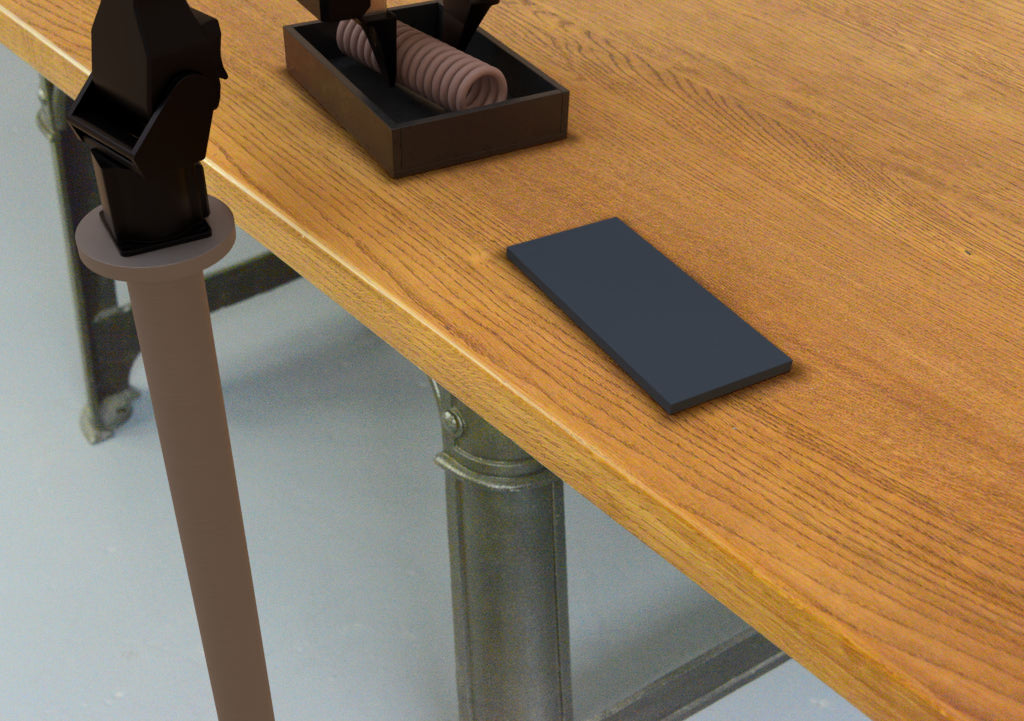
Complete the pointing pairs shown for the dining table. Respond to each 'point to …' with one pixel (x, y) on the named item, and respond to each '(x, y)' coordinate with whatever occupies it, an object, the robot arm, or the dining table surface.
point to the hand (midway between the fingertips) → (419, 79)
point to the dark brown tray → (414, 119)
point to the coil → (430, 67)
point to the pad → (648, 314)
